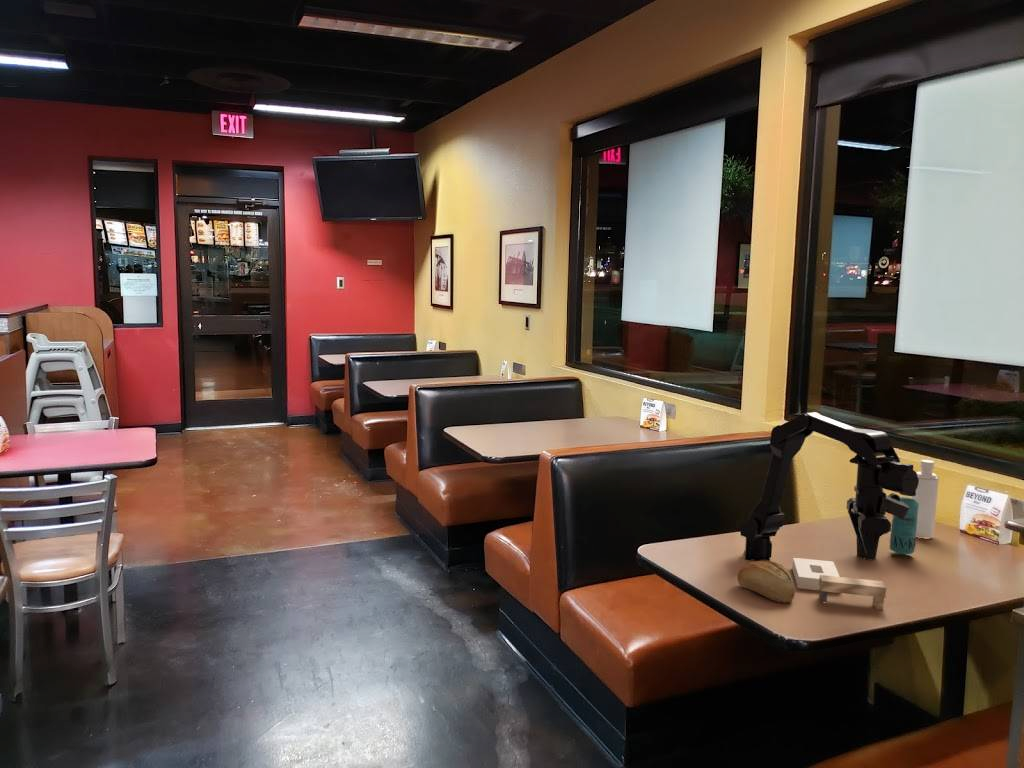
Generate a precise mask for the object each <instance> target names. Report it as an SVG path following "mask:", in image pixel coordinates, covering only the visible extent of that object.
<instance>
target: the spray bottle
mask: <svg viewBox="0 0 1024 768" xmlns="http://www.w3.org/2000/svg"><path fill="white" fill-rule="evenodd" d="M934 468H935V461H934V460H930V459H920V471H917V472H916V473H917V476H918V479H919V483H918V487H917V489H916V496H911V498H913V499H915V500H916V501H917V502H918V503H919V507H918V517H917V529H916V536H918V537H933V538H934V536H935V522H936V511H937V501H938V492H939V481H940V480H939V479H940V476H938V475H937V474H936V473H933V470H934Z"/></svg>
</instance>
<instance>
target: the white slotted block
mask: <svg viewBox="0 0 1024 768" xmlns="http://www.w3.org/2000/svg"><path fill="white" fill-rule="evenodd" d="M791 568H792V572H793V575H794V579H795V582H796V586H797V588H798V589H801V588H802V590H803V589H804V590H813V591H819V592H820V586H819V578H820V575H826V576H836V577H841V576H840V574H839V571H838V570H837V567H836V565H835V563H834V561H831V560H822V559H821V560H819V559H811V558H801V557H800V558H799V557H793V558H792V567H791Z"/></svg>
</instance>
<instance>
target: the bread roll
mask: <svg viewBox="0 0 1024 768" xmlns="http://www.w3.org/2000/svg"><path fill="white" fill-rule="evenodd" d="M736 578H737V582H738V584H739V585H740V586H742V587H743V588H745V589H748V590H750V591H753V592H754V593H757V594H759V595H761V596H762V597H763V596H764V597H765V598H768V599H770V600H772V601H773V602H777V603H780V602H784V603H783V604H787V603H786V602H788V603H790V602H793V600H794V597H795V594H796V587H795V584H794V581H793V578H792V575H791V572H790V571H789V570H788V569H787V568H786V567H784V566H783V565H782V564H780V563H778V562H776V561H772V560H770V561H769V560H765V559H763V560H760V561H755V560H754V561H752V562H749V563H747V564H746V565H744V566H742V567H741V568H740V569H739V571H738V573H737V577H736Z"/></svg>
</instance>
